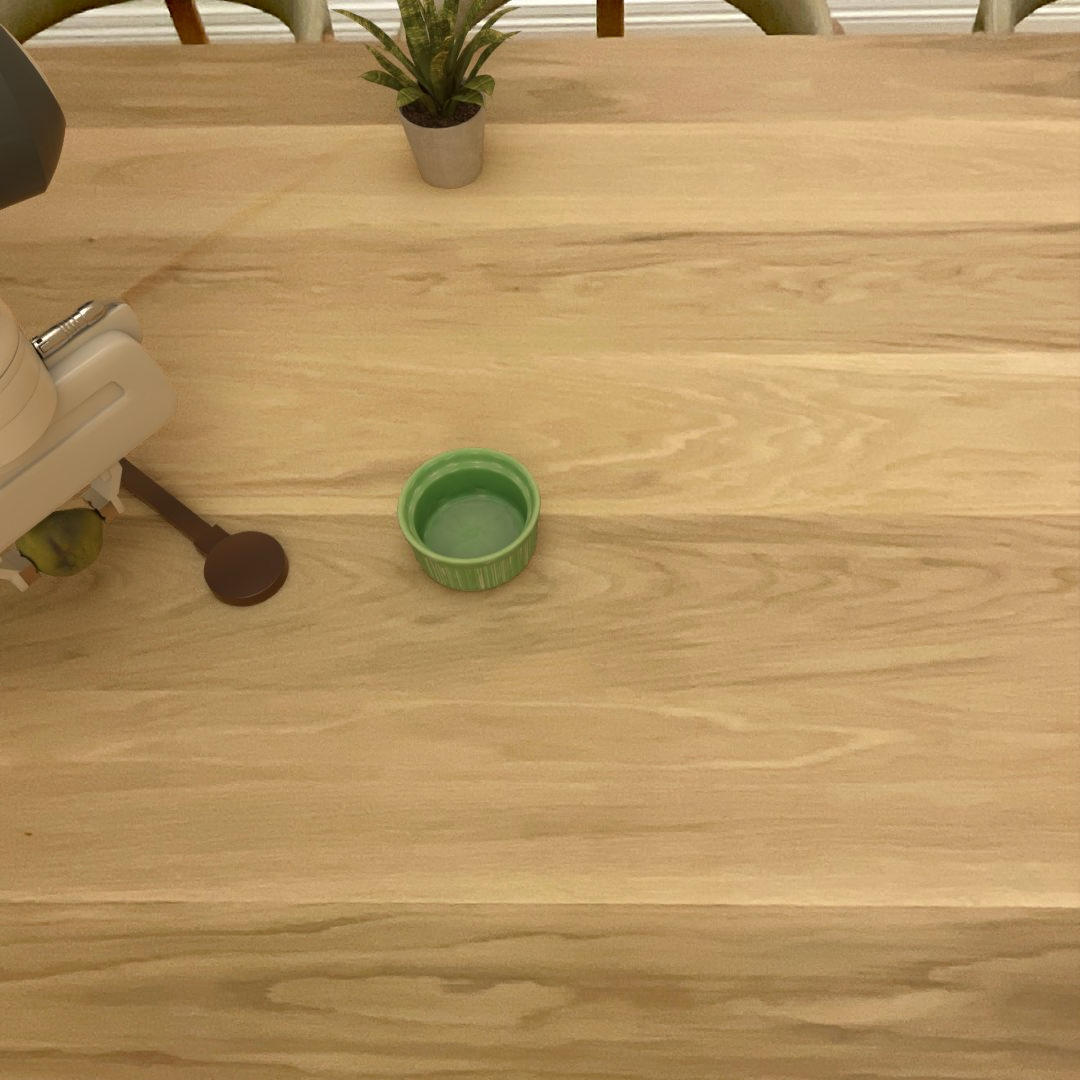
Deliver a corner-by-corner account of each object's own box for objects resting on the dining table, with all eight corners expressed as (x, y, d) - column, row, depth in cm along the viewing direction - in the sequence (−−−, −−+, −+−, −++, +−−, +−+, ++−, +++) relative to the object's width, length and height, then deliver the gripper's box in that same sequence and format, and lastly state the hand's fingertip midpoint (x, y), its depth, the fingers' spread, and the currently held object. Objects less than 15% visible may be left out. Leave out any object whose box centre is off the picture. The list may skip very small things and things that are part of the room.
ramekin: (437, 621, 73) (427, 584, 69) (388, 517, 78) (376, 477, 74) (567, 568, 75) (563, 528, 71) (511, 469, 79) (505, 427, 76)
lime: (26, 578, 72) (-11, 532, 68) (74, 519, 75) (41, 471, 70) (84, 602, 71) (50, 557, 67) (131, 542, 74) (101, 495, 69)
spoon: (88, 493, 79) (82, 484, 79) (148, 446, 82) (143, 437, 81) (244, 621, 74) (240, 612, 73) (305, 567, 76) (301, 558, 75)
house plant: (585, 152, 97) (578, -43, 83) (487, 250, 91) (461, 58, 77) (449, 96, 101) (421, -97, 88) (347, 186, 96) (299, -6, 82)
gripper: (83, 256, 65) (167, 418, 77) (-255, 486, 57) (-104, 628, 69) (155, 306, 63) (230, 465, 75) (-186, 553, 55) (-42, 688, 67)
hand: (67, 545), depth 72 cm, fingers closed on lime, 5 cm apart
